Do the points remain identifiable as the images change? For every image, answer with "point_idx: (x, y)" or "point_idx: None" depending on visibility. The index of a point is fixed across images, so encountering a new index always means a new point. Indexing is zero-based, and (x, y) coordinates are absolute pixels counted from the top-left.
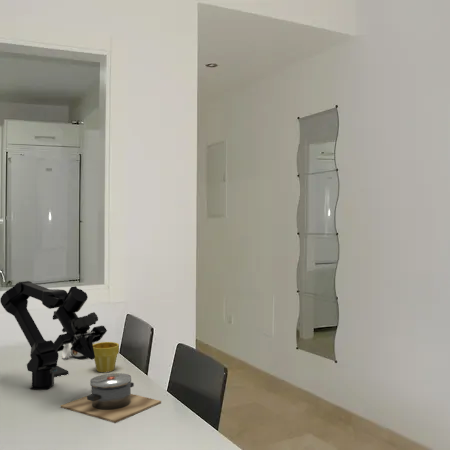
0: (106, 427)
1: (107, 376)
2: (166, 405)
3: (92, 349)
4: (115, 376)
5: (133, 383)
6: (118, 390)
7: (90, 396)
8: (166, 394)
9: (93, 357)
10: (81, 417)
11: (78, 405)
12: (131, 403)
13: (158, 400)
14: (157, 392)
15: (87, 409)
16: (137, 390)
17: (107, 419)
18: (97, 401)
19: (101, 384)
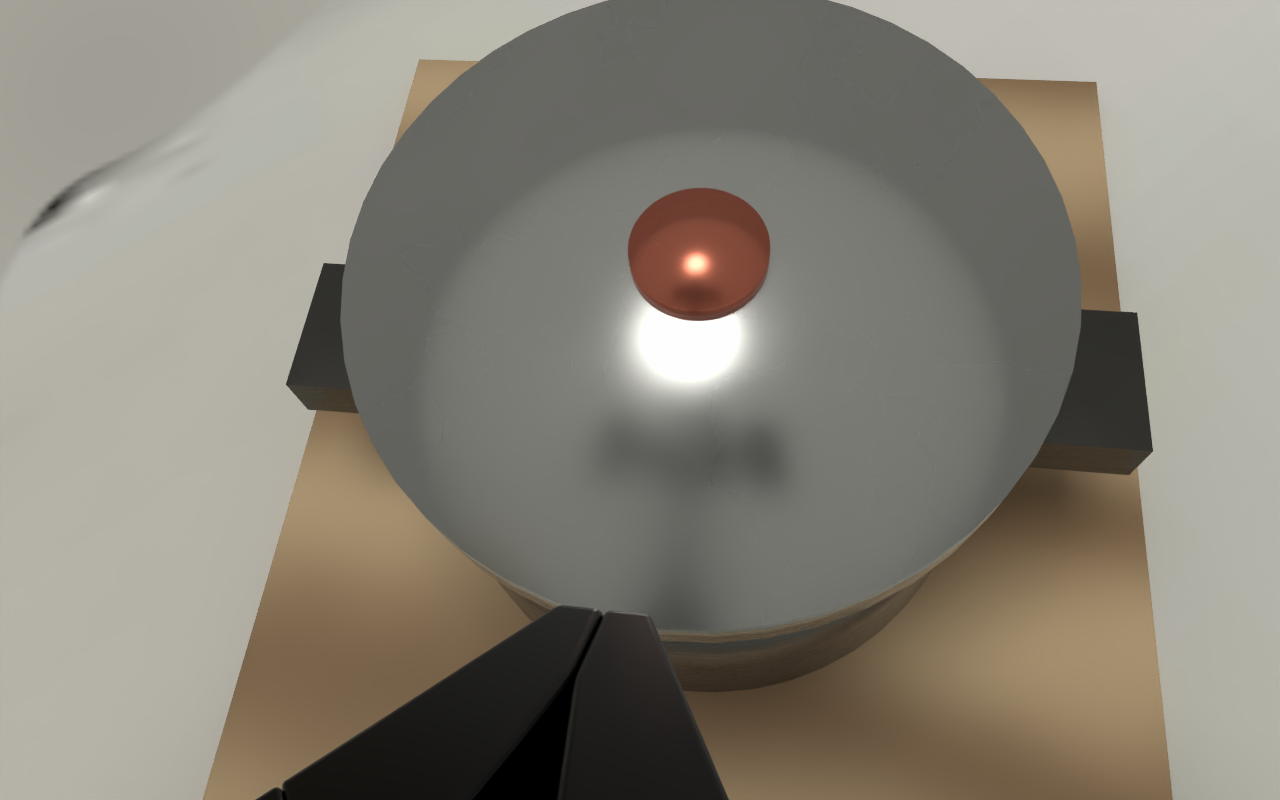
0: (1223, 95)
1: (603, 406)
2: (469, 10)
3: (408, 749)
4: (560, 270)
5: (328, 270)
6: None
7: (1144, 378)
8: (167, 167)
9: (626, 613)
10: (1228, 481)
11: (1020, 785)
12: None
13: (415, 85)
14: (123, 274)
15: (1050, 549)
16: (98, 517)
17: (1102, 178)
18: None
19: (1050, 175)
